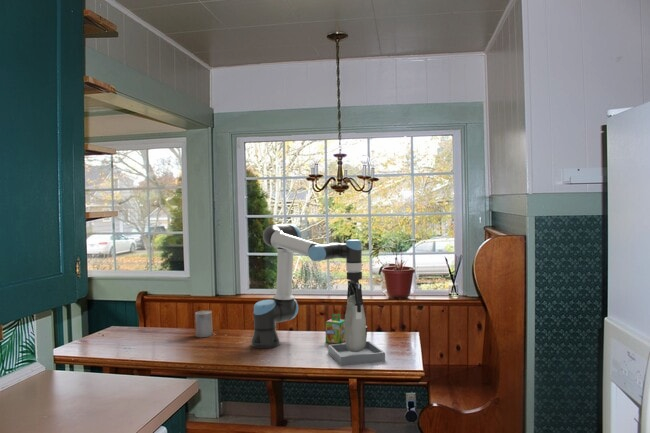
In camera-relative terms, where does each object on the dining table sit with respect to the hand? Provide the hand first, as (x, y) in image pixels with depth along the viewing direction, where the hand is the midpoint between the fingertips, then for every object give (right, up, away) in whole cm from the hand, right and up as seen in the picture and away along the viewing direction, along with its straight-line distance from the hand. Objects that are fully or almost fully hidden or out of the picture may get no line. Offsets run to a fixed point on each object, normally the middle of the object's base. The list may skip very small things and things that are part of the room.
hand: (355, 316), depth 259 cm
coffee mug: (+4, -19, +22) cm, 30 cm away
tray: (0, -20, 0) cm, 20 cm away
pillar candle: (-85, -21, +50) cm, 101 cm away
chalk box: (-9, -20, +30) cm, 37 cm away
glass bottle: (0, -17, 0) cm, 17 cm away
